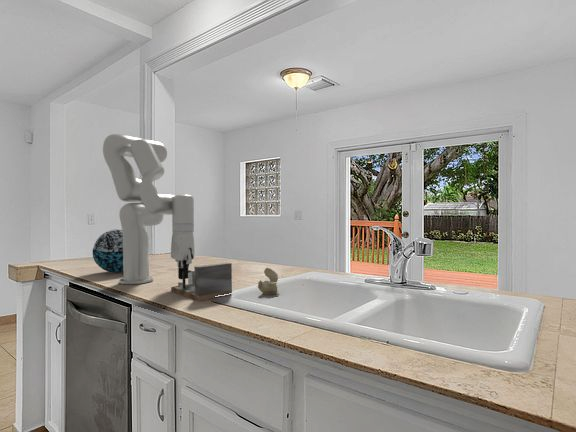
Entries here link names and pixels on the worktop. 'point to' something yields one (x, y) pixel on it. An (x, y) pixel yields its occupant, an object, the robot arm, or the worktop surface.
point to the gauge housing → (208, 282)
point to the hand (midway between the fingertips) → (183, 278)
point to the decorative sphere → (109, 251)
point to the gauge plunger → (189, 278)
